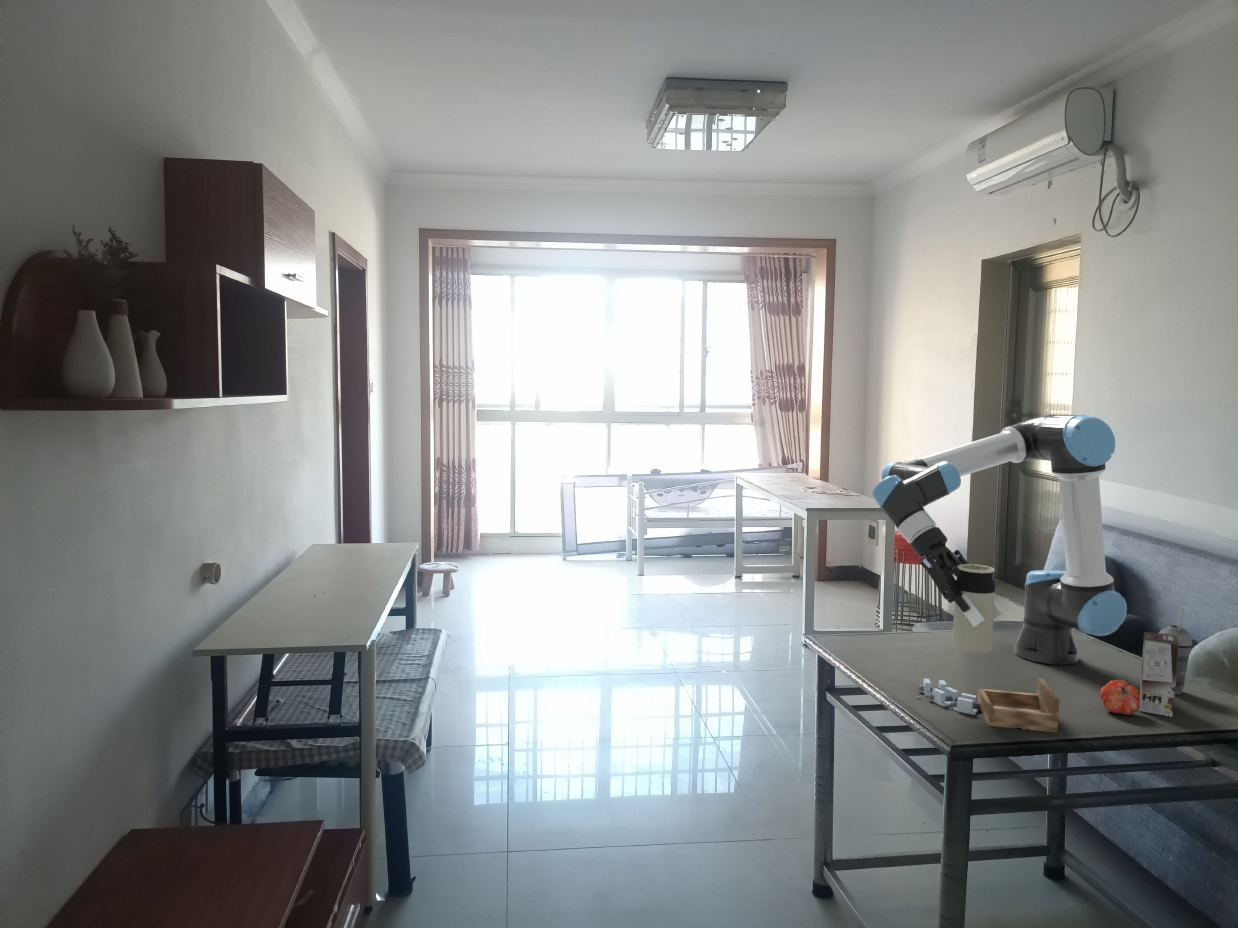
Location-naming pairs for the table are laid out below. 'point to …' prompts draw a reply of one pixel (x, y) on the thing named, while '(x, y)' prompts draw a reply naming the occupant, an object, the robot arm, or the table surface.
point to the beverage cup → (1180, 651)
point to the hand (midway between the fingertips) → (989, 619)
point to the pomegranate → (1120, 697)
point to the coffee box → (1158, 673)
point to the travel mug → (982, 594)
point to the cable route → (950, 697)
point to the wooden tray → (1021, 708)
